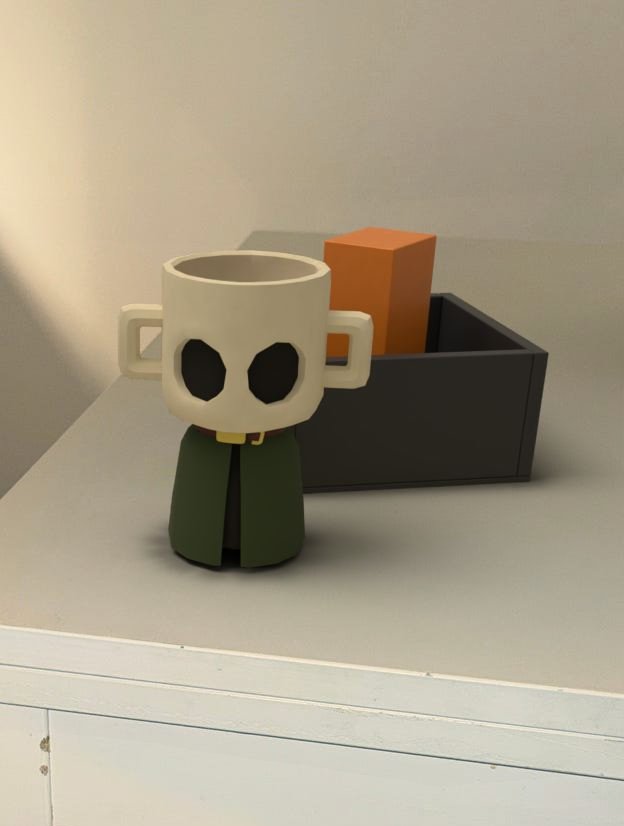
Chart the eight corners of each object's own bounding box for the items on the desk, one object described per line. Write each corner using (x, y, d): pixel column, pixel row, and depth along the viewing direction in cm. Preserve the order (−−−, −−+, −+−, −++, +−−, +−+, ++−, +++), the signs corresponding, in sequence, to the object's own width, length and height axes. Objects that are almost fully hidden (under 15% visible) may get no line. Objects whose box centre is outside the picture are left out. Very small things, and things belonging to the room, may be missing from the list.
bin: (438, 409, 80) (451, 292, 77) (529, 486, 68) (549, 352, 65) (221, 418, 78) (224, 299, 75) (276, 500, 66) (283, 362, 63)
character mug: (106, 576, 58) (103, 279, 52) (130, 516, 64) (129, 245, 58) (354, 591, 57) (380, 288, 51) (354, 528, 63) (376, 252, 57)
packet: (353, 422, 76) (369, 226, 71) (416, 435, 74) (437, 234, 69) (310, 444, 72) (323, 240, 67) (375, 459, 70) (394, 249, 65)
